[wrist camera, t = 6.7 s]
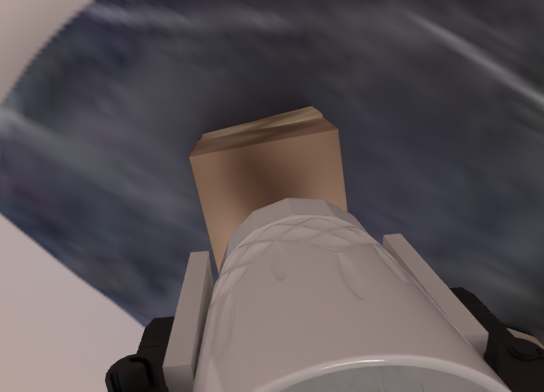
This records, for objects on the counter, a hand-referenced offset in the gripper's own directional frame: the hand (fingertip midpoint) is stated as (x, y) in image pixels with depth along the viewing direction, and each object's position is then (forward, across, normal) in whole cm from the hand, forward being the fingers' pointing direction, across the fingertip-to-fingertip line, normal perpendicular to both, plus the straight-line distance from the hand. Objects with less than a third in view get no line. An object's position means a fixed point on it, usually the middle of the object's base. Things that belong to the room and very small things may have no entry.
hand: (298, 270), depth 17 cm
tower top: (+13, 0, 0) cm, 13 cm away
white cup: (+1, 0, 0) cm, 1 cm away
